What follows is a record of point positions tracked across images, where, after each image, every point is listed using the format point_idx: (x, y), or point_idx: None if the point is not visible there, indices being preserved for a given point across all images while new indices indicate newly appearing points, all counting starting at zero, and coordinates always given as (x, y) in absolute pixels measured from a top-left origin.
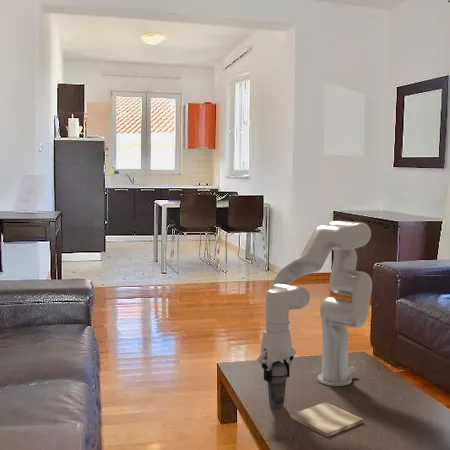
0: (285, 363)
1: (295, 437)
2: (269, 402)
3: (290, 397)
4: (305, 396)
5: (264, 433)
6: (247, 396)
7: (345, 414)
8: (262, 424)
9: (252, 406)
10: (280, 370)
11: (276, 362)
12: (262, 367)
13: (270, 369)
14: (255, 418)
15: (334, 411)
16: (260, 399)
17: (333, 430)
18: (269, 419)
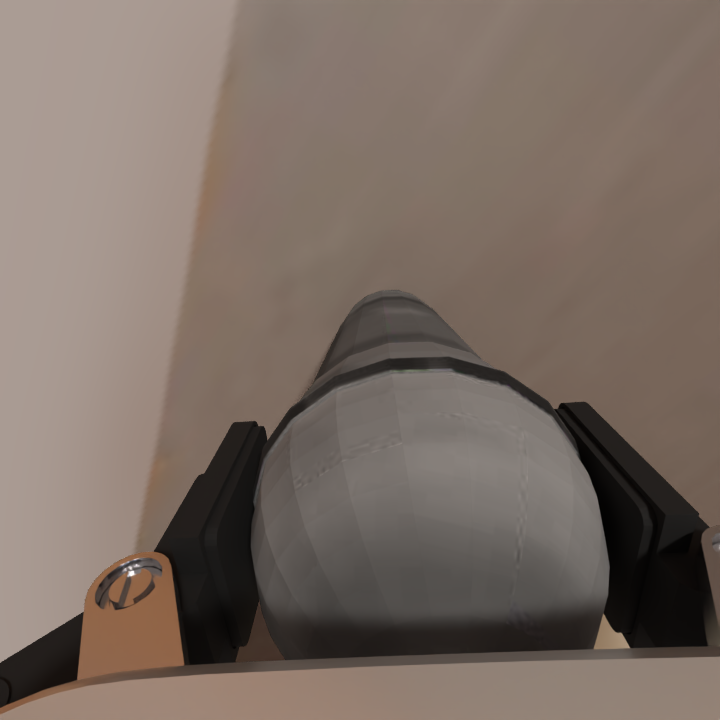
0: (664, 617)
1: (258, 628)
2: (339, 328)
3: (592, 258)
4: (693, 304)
5: (141, 547)
6: (302, 18)
7: (606, 633)
8: (176, 476)
9: (238, 238)
10: None
11: (539, 540)
12: (60, 649)
13: (263, 609)
14: (171, 401)
15: None
16: (367, 154)
17: None
18: None
